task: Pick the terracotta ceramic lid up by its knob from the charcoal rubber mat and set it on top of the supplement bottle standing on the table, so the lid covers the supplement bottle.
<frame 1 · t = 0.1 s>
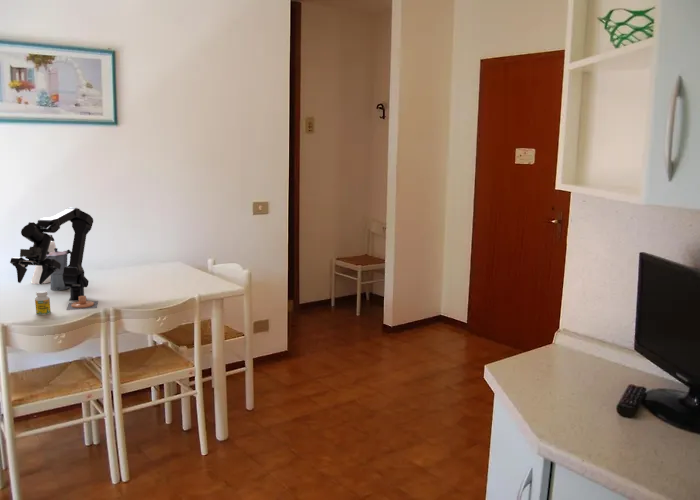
hand: (29, 283, 238), 15 cm above the table, tool tilted 30°, fingers open, 9 cm apart
moka pot: (61, 288, 291), on the table
lid: (82, 305, 260), point 1 cm above the table, touching mat
white bottle: (44, 282, 303), on the table
supplement bottle: (43, 314, 248), on the table
mat: (82, 306, 260), on the table
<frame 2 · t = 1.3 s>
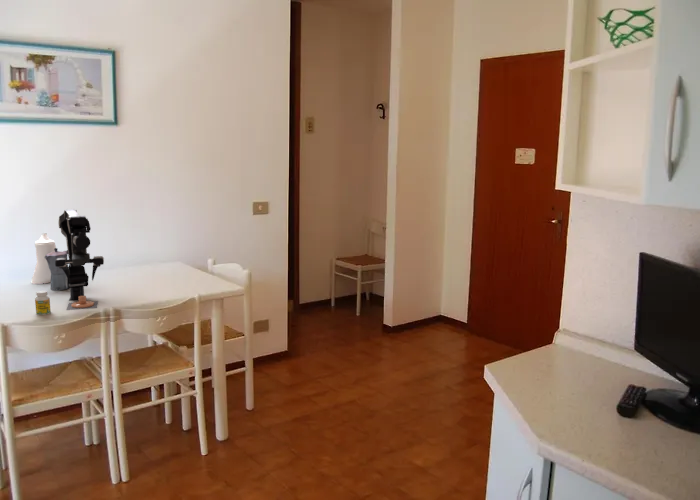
hand: (81, 280, 258), 11 cm above the table, tool pointing down, fingers open, 9 cm apart
nothing on the table moved.
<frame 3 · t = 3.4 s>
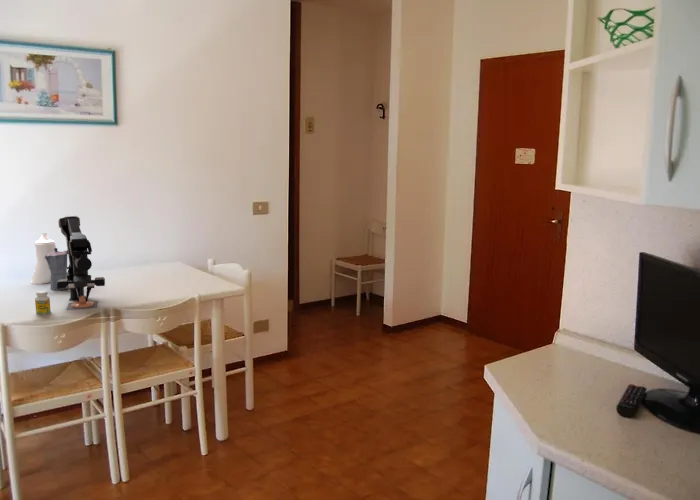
hand: (82, 301, 260), 2 cm above the table, tool pointing down, fingers closed on lid, 3 cm apart
lid: (82, 305, 260), point 1 cm above the table, touching gripper, mat
everything else where it was.
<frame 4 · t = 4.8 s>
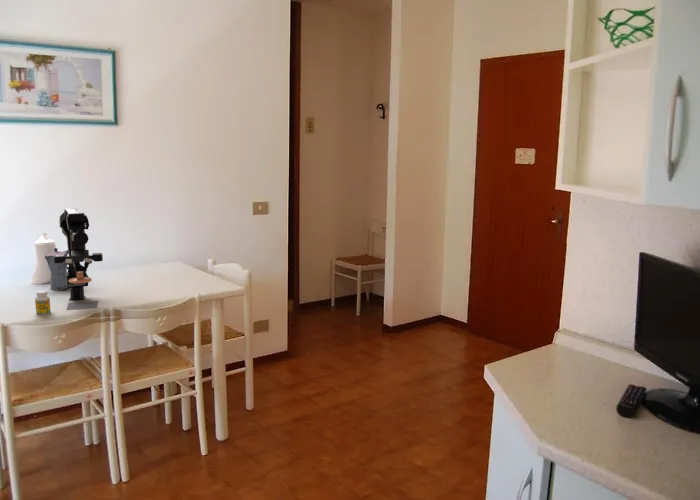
hand: (80, 277, 258), 13 cm above the table, tool pointing down, fingers closed on lid, 3 cm apart
lid: (80, 281, 258), point 11 cm above the table, touching gripper
everything else where it was.
when the fingers open (13 cm above the table, at t = 6.5 s): lid drops 2 cm, resting on supplement bottle.
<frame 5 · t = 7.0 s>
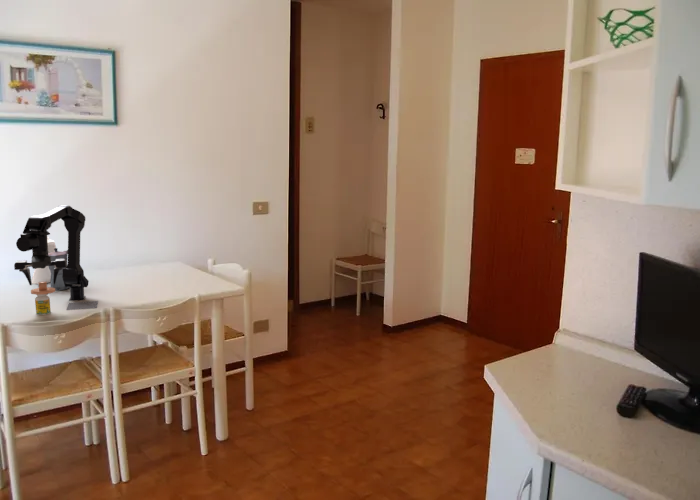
hand: (42, 284, 246), 13 cm above the table, tool pointing down, fingers open, 8 cm apart
lid: (43, 291, 246), point 10 cm above the table, touching supplement bottle
supplement bottle: (43, 314, 248), on the table, touching lid
everything else where it was.
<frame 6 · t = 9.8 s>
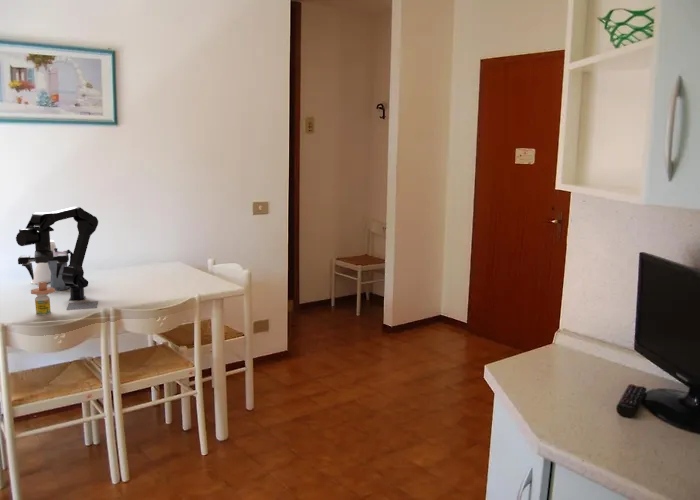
hand: (45, 278, 254), 13 cm above the table, tool pointing down, fingers open, 9 cm apart
nothing on the table moved.
at the end: lid 0.5 cm off-centre on the supplement bottle, point 9.8 cm above the supplement bottle's base; supplement bottle tilted 0°; the gripper is holding nothing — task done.
